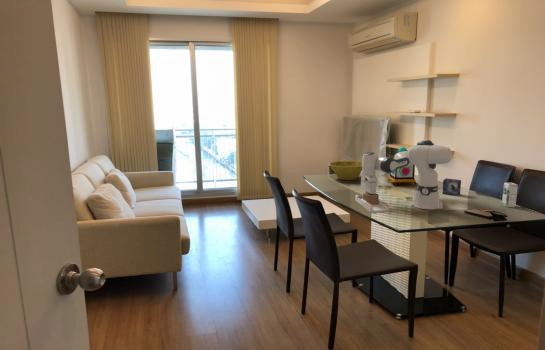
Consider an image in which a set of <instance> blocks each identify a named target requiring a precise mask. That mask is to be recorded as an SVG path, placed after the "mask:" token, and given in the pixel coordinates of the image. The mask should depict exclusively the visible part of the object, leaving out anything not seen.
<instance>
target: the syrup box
mask: <svg viewBox="0 0 545 350" xmlns="http://www.w3.org/2000/svg"><path fill="white" fill-rule="evenodd" d="M518 186H519V185H518V184H516V183H514V182H504V183H503V191H502V201H501V205H502V206H503V207H506V208H516V207H517V205H516V203H517V197H518V195H517V194H518Z"/></svg>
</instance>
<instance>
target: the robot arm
mask: <svg viewBox="0 0 545 350" xmlns="http://www.w3.org/2000/svg"><path fill="white" fill-rule="evenodd" d="M396 153H397V152H396ZM396 153H395V154H396ZM395 154H394V155H395ZM452 158H453V152H452V149H450V147H447V146H443V145H442V146H441V145H437V144H435V143H433V141H431V140H430V139H422V140H419V141H418V142H417V143H416V144H415V145H411V146H410V147H409V148H408V149H407V151H403V152H399V153H397V154H396V155H395V156H394V159H393V158H389V157H385V156H380V155H377V154H376V153H375V152H373V151H369V152H368V151H367V152H365V153H364V154H363V155H362V159H361V162H362V171H361V178H360V188H362V189H363V190H364V191H365V192H364V193H370V194H375V193H376V194H377V187H378V186H377V183H378V178H377V176H376V171H378V172H382V173H386V174H390V173H392V172H393V171H395V170H396V169H399V168H402V167H408V166H411V165H414V164H415V169H417V173H418V182H417V183H418V184H417V187H416V191H415V192H414V199H413V202H411V203H410V205H411V206H413V207H415V208H418V209H421V210H422V209H423V210H440V209H443V201H442V200H441V199H440V193H439V187H438V177H439V175H438V172H437V171H436V170H435V169H436V168H437V165H442V164H443V165H444V164H448V163H450V162H451V160H452Z"/></svg>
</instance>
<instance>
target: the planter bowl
mask: <svg viewBox="0 0 545 350" xmlns="http://www.w3.org/2000/svg"><path fill="white" fill-rule="evenodd" d="M328 165H329V166H330V168H331V170H332V171H334V173H335V176H336V177H337V178H338V179H339V180H344V181H352V180H353V181H354V180H357V179H358V178H359V177H360V176H361V174H362V161H357V160H339V161H333V162H329V163H328Z"/></svg>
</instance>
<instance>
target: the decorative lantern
mask: <svg viewBox="0 0 545 350" xmlns="http://www.w3.org/2000/svg"><path fill="white" fill-rule="evenodd" d="M403 151H408V148H406V147H405V146H401V147H399V149H398V151H397V152H396V153H395V154H392V155H390V156H389V157H388V158H393V159H394V156H395V155H396V154H397V153H399V152H403ZM415 171H416V166H415V164H414V165H411V166H408V167H402V168H399V169H396V170H395V171H393V172H392V173H389V176H388V177H387V182H388V183H390V182H392V183H393V187H396V184H409V183H413V186H414V187H415V186H416V185H417V181H416V180H415Z"/></svg>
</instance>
